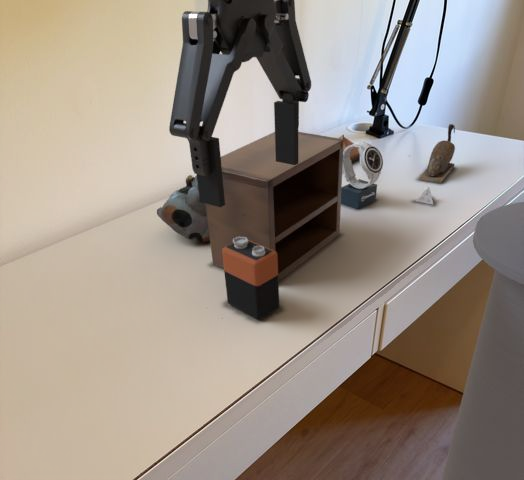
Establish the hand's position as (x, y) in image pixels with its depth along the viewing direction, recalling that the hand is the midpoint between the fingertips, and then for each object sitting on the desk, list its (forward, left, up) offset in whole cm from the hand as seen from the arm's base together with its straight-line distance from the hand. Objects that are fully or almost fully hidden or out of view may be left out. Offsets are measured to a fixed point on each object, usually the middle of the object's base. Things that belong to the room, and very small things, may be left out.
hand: (252, 181), depth 58 cm
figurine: (+3, -68, -21) cm, 71 cm away
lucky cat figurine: (+28, -21, -21) cm, 41 cm away
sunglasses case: (+25, -61, -21) cm, 69 cm away
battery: (+5, -5, -21) cm, 22 cm away
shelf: (+12, -21, -21) cm, 32 cm away
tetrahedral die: (-1, -52, -21) cm, 56 cm away
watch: (+10, -45, -21) cm, 50 cm away
